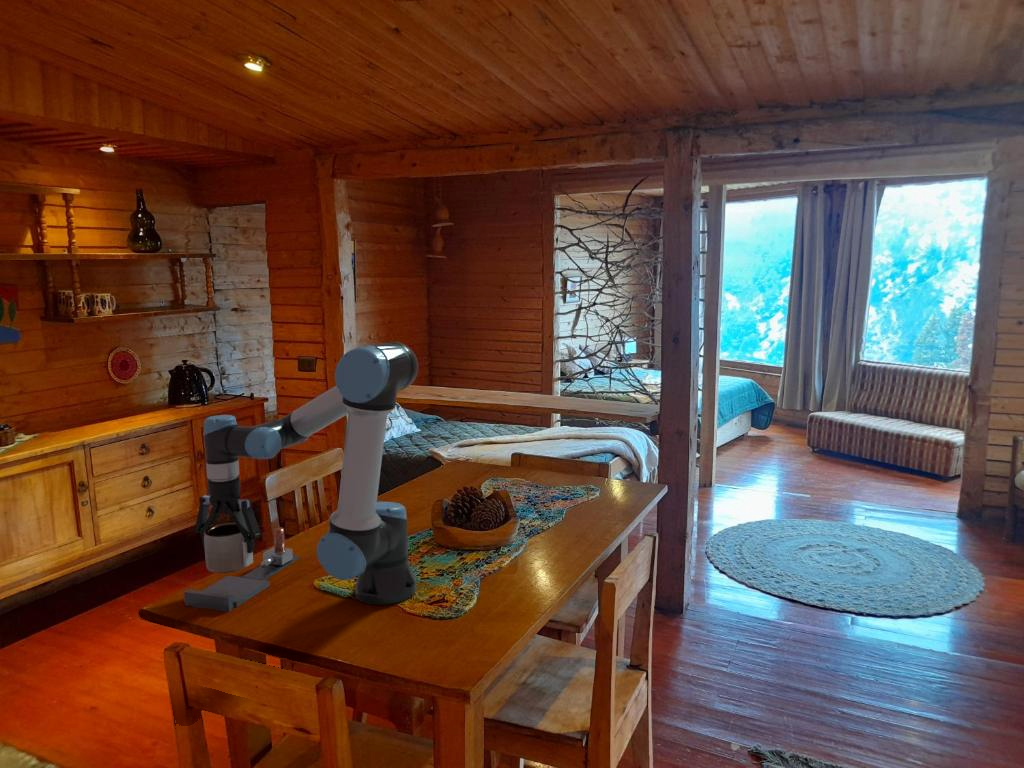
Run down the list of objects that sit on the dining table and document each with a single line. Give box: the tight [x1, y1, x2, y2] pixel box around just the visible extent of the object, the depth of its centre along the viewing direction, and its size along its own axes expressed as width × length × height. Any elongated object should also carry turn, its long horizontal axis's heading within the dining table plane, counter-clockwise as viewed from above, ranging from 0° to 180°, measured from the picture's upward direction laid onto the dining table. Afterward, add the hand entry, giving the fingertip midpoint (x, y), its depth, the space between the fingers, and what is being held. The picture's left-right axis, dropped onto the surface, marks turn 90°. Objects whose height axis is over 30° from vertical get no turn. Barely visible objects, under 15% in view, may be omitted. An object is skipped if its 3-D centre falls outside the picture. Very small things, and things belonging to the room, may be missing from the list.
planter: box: [204, 522, 249, 574], centre depth 184 cm, size 11×11×10 cm
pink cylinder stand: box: [260, 526, 294, 568], centre depth 201 cm, size 9×6×9 cm, turn 162°
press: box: [183, 555, 301, 613], centre depth 193 cm, size 34×13×4 cm, turn 162°
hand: (229, 562), depth 184 cm, fingers closed on planter, 11 cm apart
